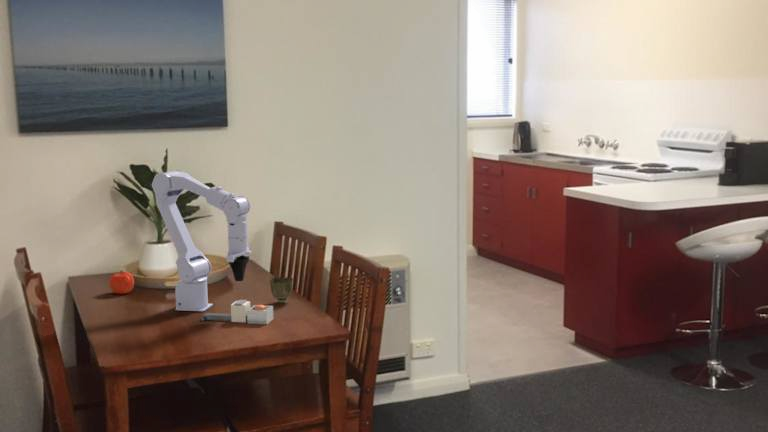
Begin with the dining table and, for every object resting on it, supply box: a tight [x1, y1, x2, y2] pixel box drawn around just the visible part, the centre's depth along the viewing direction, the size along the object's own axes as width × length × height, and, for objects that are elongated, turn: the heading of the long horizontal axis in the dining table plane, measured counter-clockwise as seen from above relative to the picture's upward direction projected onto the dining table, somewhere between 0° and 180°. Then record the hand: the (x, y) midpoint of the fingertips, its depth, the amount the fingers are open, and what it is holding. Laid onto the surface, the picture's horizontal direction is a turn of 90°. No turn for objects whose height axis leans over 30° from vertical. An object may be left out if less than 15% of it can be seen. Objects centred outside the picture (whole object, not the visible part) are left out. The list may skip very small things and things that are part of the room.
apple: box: [108, 270, 135, 295], centre depth 273 cm, size 8×8×8 cm
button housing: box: [247, 304, 274, 325], centre depth 238 cm, size 6×6×4 cm
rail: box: [200, 312, 248, 323], centre depth 240 cm, size 14×4×2 cm, turn 80°
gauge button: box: [255, 304, 266, 310], centre depth 238 cm, size 3×3×2 cm
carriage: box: [230, 299, 251, 323], centre depth 239 cm, size 4×5×6 cm
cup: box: [269, 276, 294, 305], centre depth 258 cm, size 8×7×8 cm
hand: (239, 280), depth 245 cm, fingers closed
